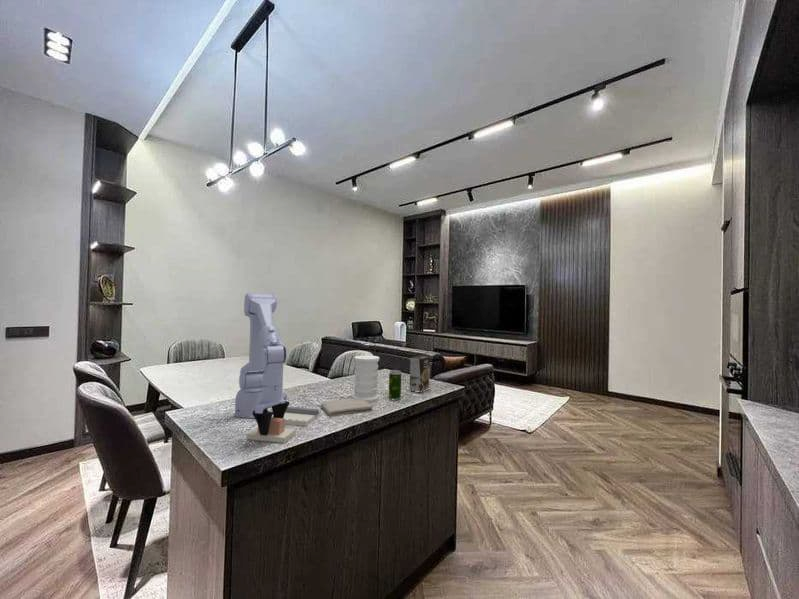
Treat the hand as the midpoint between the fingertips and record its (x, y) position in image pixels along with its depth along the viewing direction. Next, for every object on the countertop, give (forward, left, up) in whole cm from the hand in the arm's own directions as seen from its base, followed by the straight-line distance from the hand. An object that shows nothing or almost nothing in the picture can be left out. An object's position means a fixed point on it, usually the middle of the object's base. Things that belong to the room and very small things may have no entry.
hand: (271, 430), depth 103 cm
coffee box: (+37, +69, -2) cm, 79 cm away
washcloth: (+13, +32, -3) cm, 35 cm away
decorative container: (+16, +48, -2) cm, 51 cm away
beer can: (+28, +52, -2) cm, 59 cm away
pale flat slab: (0, +1, -2) cm, 2 cm away
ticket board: (0, +17, -2) cm, 17 cm away
